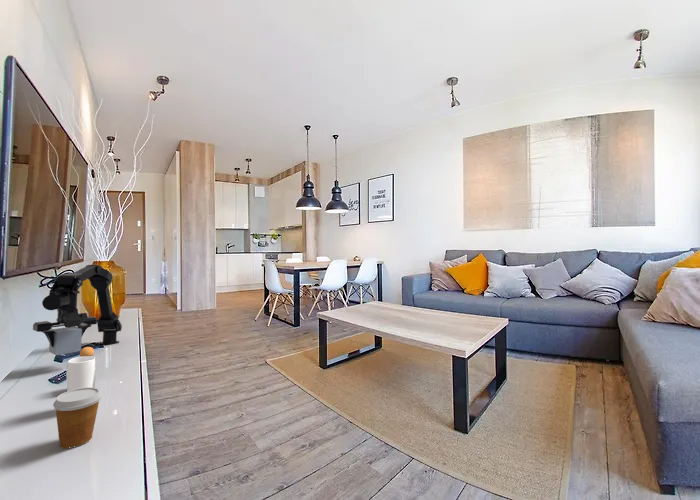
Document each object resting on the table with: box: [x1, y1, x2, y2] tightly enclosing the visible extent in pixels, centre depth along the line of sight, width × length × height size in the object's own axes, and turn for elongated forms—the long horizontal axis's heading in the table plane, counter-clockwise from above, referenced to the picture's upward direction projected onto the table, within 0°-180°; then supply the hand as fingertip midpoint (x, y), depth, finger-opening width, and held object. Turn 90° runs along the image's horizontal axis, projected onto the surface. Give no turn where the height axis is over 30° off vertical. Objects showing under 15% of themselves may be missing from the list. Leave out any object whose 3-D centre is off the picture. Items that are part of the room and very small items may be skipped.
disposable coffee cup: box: [52, 387, 103, 449], centre depth 82 cm, size 10×10×12 cm
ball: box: [79, 346, 95, 357], centre depth 141 cm, size 5×5×5 cm
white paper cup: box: [66, 356, 96, 392], centre depth 98 cm, size 7×7×15 cm
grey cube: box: [48, 326, 83, 356], centre depth 129 cm, size 8×8×9 cm
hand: (65, 344), depth 129 cm, fingers closed on grey cube, 8 cm apart
